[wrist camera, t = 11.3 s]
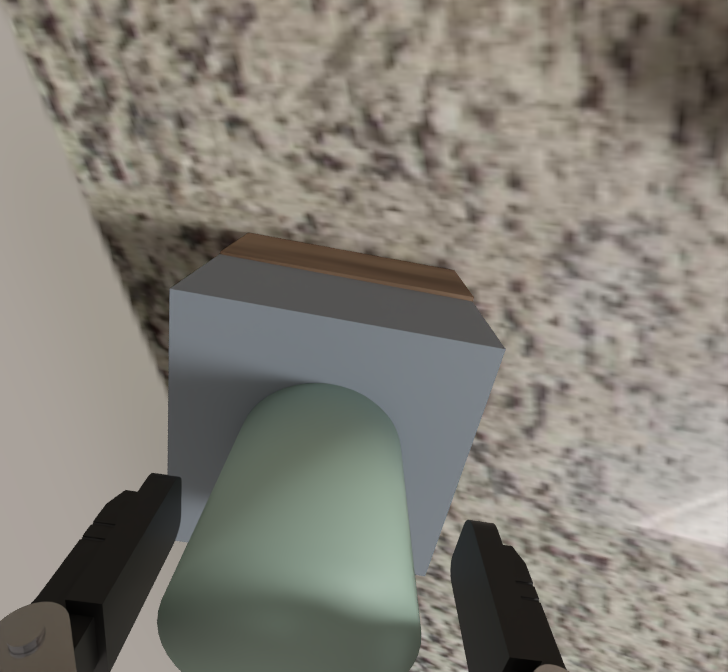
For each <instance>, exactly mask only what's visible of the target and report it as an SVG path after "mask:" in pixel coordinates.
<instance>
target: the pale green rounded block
mask: <svg viewBox="0 0 728 672" xmlns="http://www.w3.org/2000/svg"><path fill="white" fill-rule="evenodd" d="M157 625H158V633H159V637H160V640H161V643H162V646H163V647H164V649H165V651H166V653H167V655H168V656H169V658H170V659H171V660H172V662H173V663H174V664H175V666H176V667H177V668H178V669H179V670H181V672H408V671H409V670H410V668H411V667H412V666H413V664H414V662H415V660H416V658H417V656H418V653H419V649H420V645H421V626H420V617H419V608H418V599H417V590H416V580H415V571H414V562H413V553H412V544H411V535H410V526H409V517H408V508H407V499H406V490H405V481H404V472H403V462H402V453H401V445H400V439H399V436H398V433H397V430H396V428H395V426H394V424H393V422H392V421H391V420H390V418H389V417H388V415H387V414H386V413H385V412H384V411H383V410H382V409H381V408H380V407H379V406H378V405H377V404H376V403H374V402H373V401H372V400H370V399H369V398H367V397H366V396H364V395H362V394H360V393H358V392H356V391H354V390H351V389H348V388H345V387H342V386H338V385H333V384H325V383H306V384H299V385H294V386H290V387H286V388H284V389H281V390H279V391H276V392H274V393H273V394H271V395H269V396H267V397H266V398H265V399H263V400H262V401H260V402H259V403H258V404H257V405H256V406H255V407H254V408H253V409H252V410H251V412H250V413H249V414H248V416H247V417H246V419H245V421H244V423H243V425H242V427H241V429H240V431H239V434H238V436H237V438H236V440H235V442H234V444H233V447H232V449H231V451H230V453H229V455H228V457H227V460H226V462H225V464H224V466H223V468H222V470H221V473H220V475H219V477H218V479H217V481H216V483H215V486H214V488H213V490H212V492H211V494H210V496H209V499H208V501H207V503H206V505H205V507H204V509H203V512H202V514H201V516H200V518H199V520H198V522H197V525H196V527H195V529H194V531H193V533H192V535H191V537H190V540H189V542H188V544H187V546H186V548H185V551H184V553H183V555H182V557H181V559H180V561H179V564H178V566H177V568H176V570H175V572H174V574H173V576H172V579H171V581H170V583H169V585H168V587H167V589H166V592H165V594H164V596H163V598H162V600H161V604H160V607H159V610H158V619H157Z"/></svg>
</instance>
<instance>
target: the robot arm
mask: <svg viewBox="0 0 728 672" xmlns="http://www.w3.org/2000/svg"><path fill="white" fill-rule="evenodd" d="M181 497H182V480H181V477H178V476H171V475H164V474H156V473H151V474H150V475H149V476H148V477H147V479H146V480H145V482H144V483H143V485H142V486H141V488H140V489H139V491H138V492H135V491H128V490H125V491H123V492H122V493H121V494H119V495H118V496H117V497H115V498H114V499H113V500H111V501H110V502H108V503H107V504H106V505H105V506H104V508H103V509H102V510H101V512H100V513H99V514H98V516H97V517H96V518H95V520H94V521H93V524H92V525H90V527H89V528H88V529H87V531H86V532H85V533H84V535H83V537H82V539H81V540H79V541H78V543H77V544H76V545H75V547H74V548H73V550H72V551H71V552H70V553H69V555H68V556H67V557H66V559H65V560H64V562H63V563H62V564H61V566H60V567H59V568H58V570H57V571H56V572H55V574H54V575H53V576H52V578H51V579H50V580H49V582H48V583H47V584H46V586H45V587H44V589H43V590H42V591H41V592H40V594H39V595H38V596H37V598H36V599H35V600H34V601H33V602H32V603H31V604H30V605H27V606H24V607H22V608H19V609H17V610H16V611H14V612H12V613H10V614H9V615H7V616H6V617H5V618H3V619H2V620H1V621H0V672H110V671H111V669H112V667H113V665H114V663H115V661H116V659H117V657H118V655H119V653H120V651H121V649H122V647H123V645H124V643H125V641H126V639H127V637H128V635H129V633H130V631H131V628H132V627H133V625H134V623H135V621H136V619H137V617H138V615H139V612H140V610H141V608H142V606H143V604H144V602H145V600H146V598H147V596H148V594H149V592H150V590H151V588H152V586H153V584H154V582H155V580H156V578H157V576H158V574H159V572H160V570H161V568H162V566H163V564H164V562H165V560H166V558H167V556H168V554H169V552H170V550H171V548H172V546H173V544H174V541H175V539H176V537H177V534H178V531H179V527H180V522H181ZM451 583H452V588H453V593H454V598H455V603H456V609H457V614H458V619H459V624H460V629H461V634H462V639H463V645H464V650H465V655H466V660H467V665H468V670H469V672H569V671H567V669H566V667H565V665H564V663H563V660H562V658H561V655H560V652H559V650H558V647H557V644H556V642H555V639H554V637H553V634H552V631H551V629H550V626H549V624H548V621H547V618H546V616H545V613H544V610H543V608H542V605H541V603H539V597H538V595H537V592H536V590H535V587H534V586H533V582H532V579H531V577H530V574H529V571H528V569H527V566H526V564H525V562H524V561H523V560H522V558H521V557H520V556H519V555H518V553H517V552H516V551H515V549H514V548H513V547H512V546H507V545H503V544H502V541H501V538H500V535H499V532H498V529H497V527H496V525H495V524H493V523H487V522H480V521H473V520H467V521H466V522H465V524H464V526H463V529H462V532H461V534H460V537H459V540H458V542H457V545H456V548H455V550H454V553H453V556H452V560H451Z"/></svg>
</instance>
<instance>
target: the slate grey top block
mask: <svg viewBox="0 0 728 672" xmlns="http://www.w3.org/2000/svg"><path fill="white" fill-rule="evenodd" d="M505 350H506V349H505V348H504V346H503V345H502V343H501V342H500V341H499V339H498V338H497V336H496V335H495V333H494V332H493V330H492V329H491V328H490V326H489V325H488V323H487V322H486V320H485V319H484V318H483V316H482V315H481V313H480V312H479V310H478V309H477V308H476V306H475V305H474V303H473V302H472V301H467V300H462V299H457V298H451V297H446V296H441V295H435V294H430V293H425V292H419V291H414V290H409V289H403V288H398V287H392V286H387V285H382V284H376V283H371V282H366V281H360V280H355V279H350V278H344V277H339V276H334V275H328V274H323V273H318V272H312V271H307V270H302V269H296V268H291V267H286V266H280V265H275V264H270V263H264V262H259V261H254V260H248V259H243V258H238V257H232V256H227V255H222V254H219V255H218V256H216V257H215V258H213V259H212V260H211V261H209V262H208V263H206V264H205V265H203V266H202V267H200V268H199V269H197V270H196V271H195V272H193V273H192V274H190V275H189V276H187V277H186V278H184V279H183V280H181V281H180V282H179V283H177V284H176V285H174V286H173V287H171V288H170V300H169V392H168V475H171V476H178V477H181V480H182V497H181V522H180V527H179V531H178V534H177V537H176V539H175V541H182V542H189V540H190V537H191V535H192V533H193V531H194V529H195V527H196V525H197V522H198V520H199V518H200V516H201V514H202V512H203V509H204V507H205V505H206V503H207V501H208V499H209V496H210V494H211V492H212V490H213V488H214V486H215V483H216V481H217V479H218V477H219V475H220V473H221V470H222V468H223V466H224V464H225V462H226V460H227V457H228V455H229V453H230V451H231V449H232V447H233V444H234V442H235V440H236V438H237V436H238V434H239V431H240V429H241V427H242V425H243V423H244V421H245V419H246V417H247V416H248V414H249V413H250V412H251V410H252V409H253V408H254V407H255V406H256V405H257V404H258V403H259V402H260V401H262V400H263V399H265V398H266V397H267V396H269V395H271V394H273V393H274V392H276V391H279V390H281V389H284V388H286V387H290V386H294V385H299V384H306V383H325V384H333V385H338V386H342V387H345V388H348V389H351V390H354V391H356V392H358V393H360V394H362V395H364V396H366V397H367V398H369V399H370V400H372V401H373V402H374V403H376V404H377V405H378V406H379V407H380V408H381V409H382V410H383V411H384V412H385V413H386V414H387V415H388V417H389V418H390V420H391V421H392V422H393V424H394V426H395V428H396V430H397V433H398V436H399V439H400V445H401V453H402V462H403V472H404V481H405V490H406V499H407V508H408V517H409V526H410V535H411V544H412V553H413V562H414V571H415V575H420V576H425V575H426V572H427V569H428V566H429V564H430V561H431V558H432V555H433V552H434V550H435V547H436V544H437V541H438V538H439V535H440V533H441V530H442V527H443V524H444V521H445V519H446V516H447V513H448V510H449V507H450V504H451V502H452V499H453V496H454V493H455V490H456V488H457V485H458V482H459V479H460V476H461V474H462V471H463V468H464V465H465V462H466V459H467V457H468V454H469V451H470V448H471V445H472V443H473V440H474V437H475V434H476V431H477V428H478V426H479V423H480V420H481V417H482V414H483V412H484V409H485V406H486V403H487V400H488V398H489V395H490V392H491V389H492V386H493V383H494V381H495V378H496V375H497V372H498V369H499V367H500V364H501V361H502V358H503V355H504V352H505Z"/></svg>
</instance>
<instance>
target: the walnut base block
mask: <svg viewBox="0 0 728 672" xmlns="http://www.w3.org/2000/svg"><path fill="white" fill-rule="evenodd" d="M220 254H222V255H227V256H232V257H238V258H243V259H248V260H254V261H259V262H264V263H270V264H275V265H280V266H286V267H291V268H296V269H302V270H307V271H312V272H318V273H323V274H328V275H334V276H339V277H344V278H350V279H355V280H360V281H366V282H371V283H376V284H382V285H387V286H392V287H398V288H403V289H409V290H414V291H419V292H425V293H430V294H435V295H441V296H446V297H451V298H457V299H462V300H467V301H472V302H473V299H474V297H473V295H472V294H471V293H470V291H469V290H468V289H467V287H466V286H465V284H464V283H463V282H462V280H461V279H460V278H459V276H458V275H457V273H456V272H455V271H454V270H450V269H444V268H439V267H433V266H428V265H422V264H417V263H412V262H406V261H401V260H395V259H390V258H384V257H379V256H373V255H368V254H362V253H357V252H352V251H346V250H341V249H335V248H330V247H324V246H319V245H313V244H308V243H302V242H297V241H292V240H286V239H281V238H275V237H270V236H264V235H259V234H253V233H247V234H246V235H244V236H243V237H241V238H240V239H238V240H237V241H235V242H234V243H233V244H231V245H230V246H228V247H227V248H225V249H224V250H222V251H221V252H220Z"/></svg>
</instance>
